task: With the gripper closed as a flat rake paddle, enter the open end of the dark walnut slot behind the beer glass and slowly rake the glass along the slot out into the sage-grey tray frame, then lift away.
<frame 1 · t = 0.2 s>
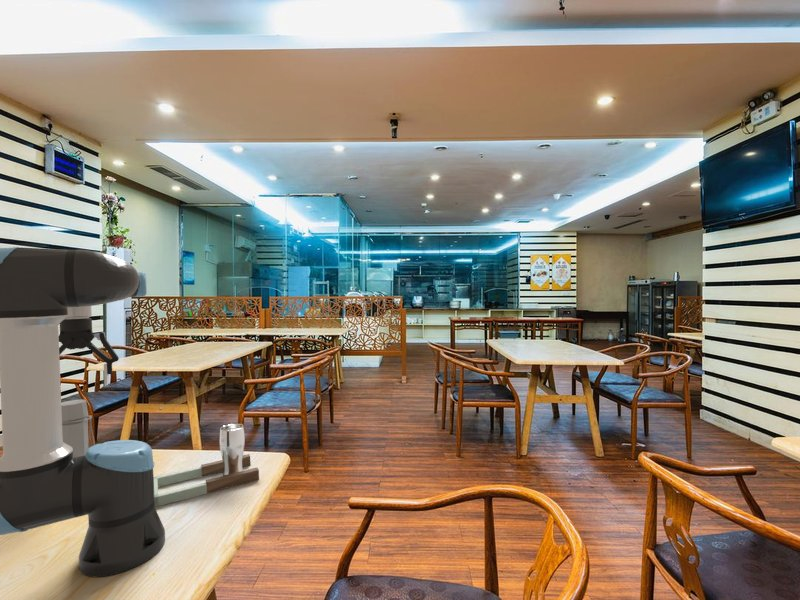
hand: (78, 388, 119), 28 cm above the table, fingers open, 13 cm apart
tray: (178, 489, 112), on the table
water bottle: (78, 487, 115), on the table
slot rails: (229, 477, 120), on the table
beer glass: (233, 476, 120), on the table
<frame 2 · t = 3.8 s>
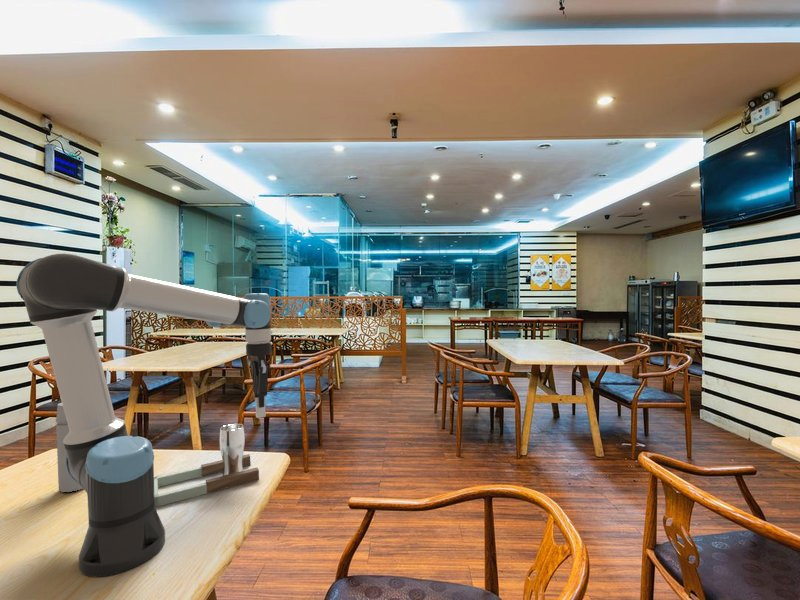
hand: (260, 416, 125), 16 cm above the table, fingers closed
nothing on the table moved.
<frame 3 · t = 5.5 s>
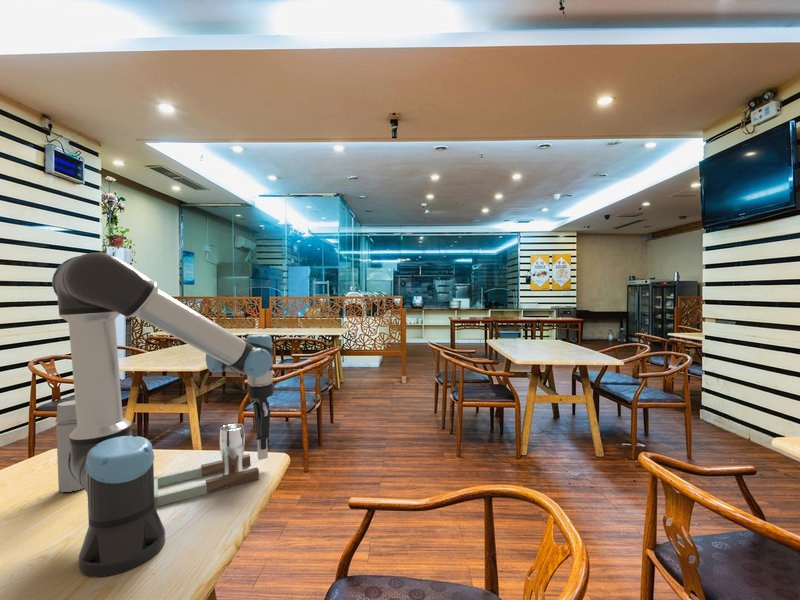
hand: (262, 458, 125), 3 cm above the table, fingers closed
nothing on the table moved.
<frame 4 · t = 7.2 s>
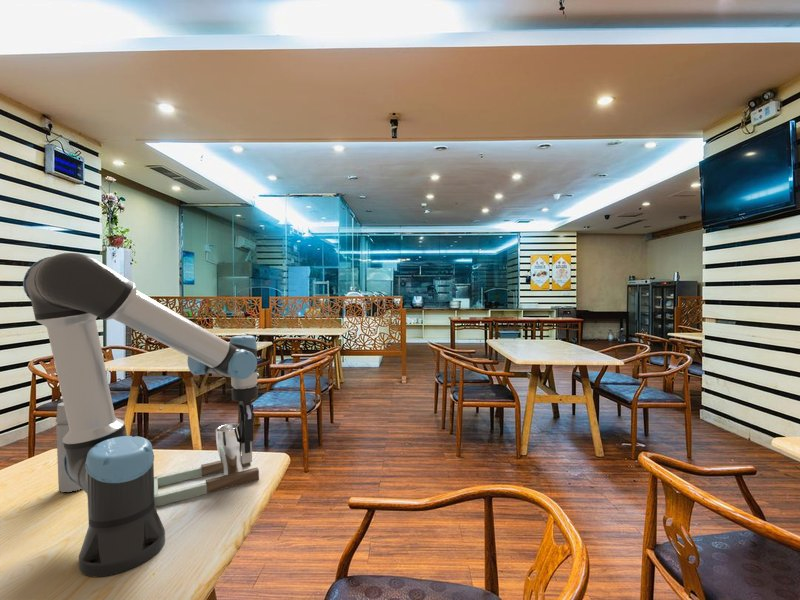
hand: (247, 461, 122), 3 cm above the table, fingers closed
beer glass: (233, 476, 120), on the table, touching gripper
everything else where it was.
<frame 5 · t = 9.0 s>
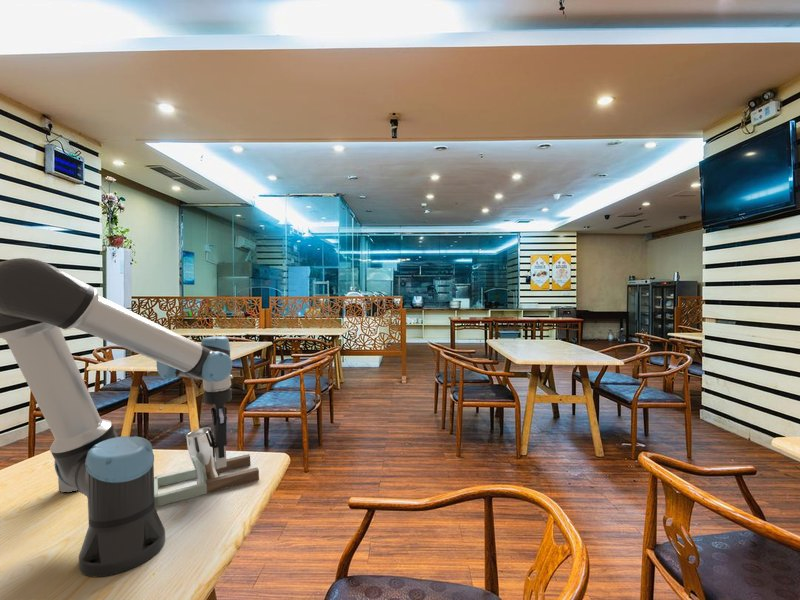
hand: (221, 466, 118), 4 cm above the table, fingers closed
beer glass: (208, 481, 116), on the table, touching gripper
everything else where it was.
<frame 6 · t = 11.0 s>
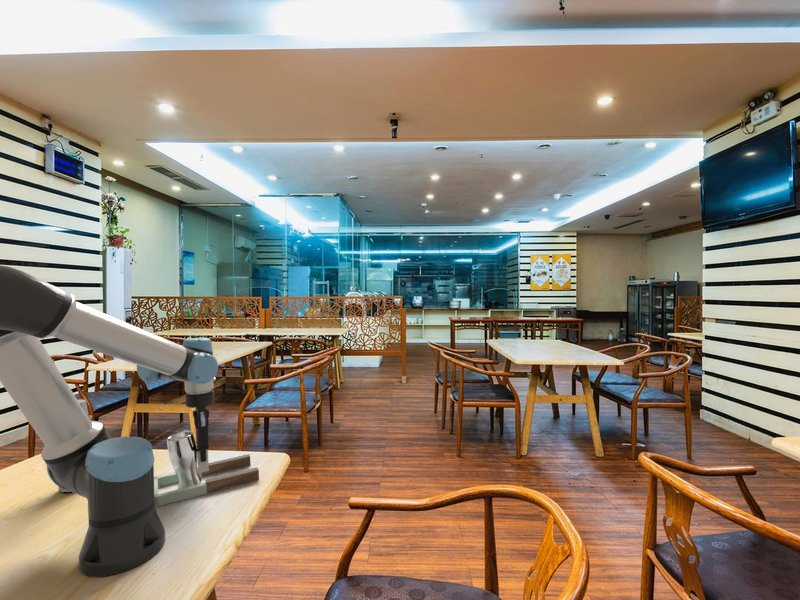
hand: (203, 471, 116), 4 cm above the table, fingers closed
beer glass: (190, 486, 114), on the table, touching gripper
everything else where it was.
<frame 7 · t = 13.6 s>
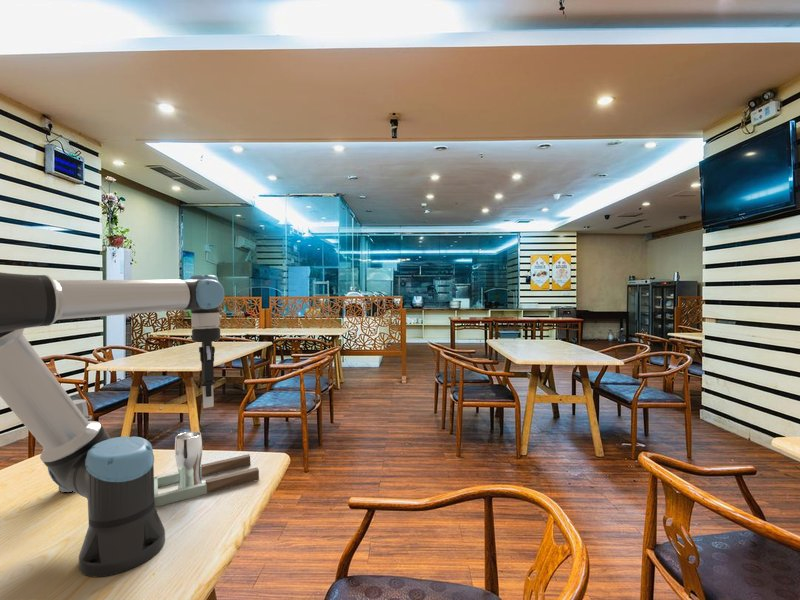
hand: (208, 406, 117), 22 cm above the table, fingers closed
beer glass: (190, 487, 114), on the table
everything else where it was.
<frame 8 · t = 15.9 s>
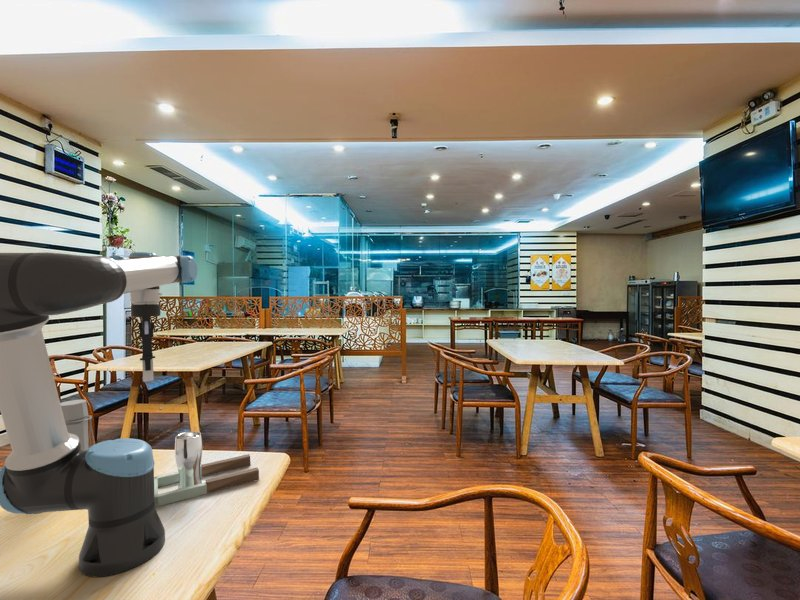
hand: (148, 380, 121), 29 cm above the table, fingers closed
nothing on the table moved.
at the end: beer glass inside the target area (1.7 cm from its centre), on the table; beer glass tilted 0° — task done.
